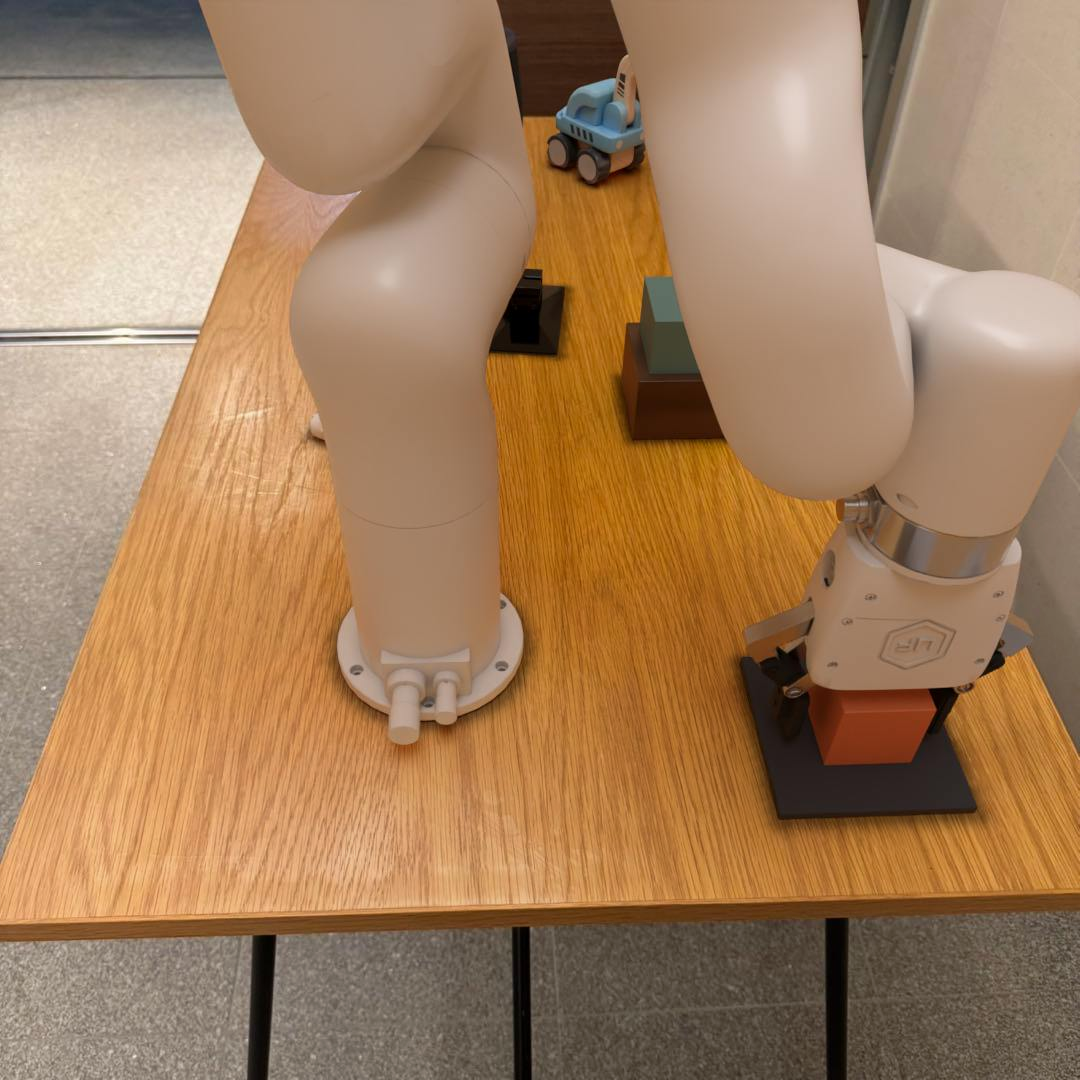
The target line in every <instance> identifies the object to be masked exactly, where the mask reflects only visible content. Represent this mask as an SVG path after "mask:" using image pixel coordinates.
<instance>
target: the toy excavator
mask: <svg viewBox="0 0 1080 1080" xmlns="http://www.w3.org/2000/svg"><path fill="white" fill-rule="evenodd" d="M636 93H637V84H636V79H635V75H634V71H633V68H632V65H631V62H630V59H629V56H628V54H626V55H625V56H624V57H623V58H622V59H621V61H619V65H618V69H617V74H616V78H615V77H614V78H608V79H603V80H600V81H597V82H594V83H589V84H588V85H584V86H580V87H578V88H577V89H576V90H574V91H573V92H572V94H571V95H570V97H569V99H568V101H567V104H566V106H564V107H563V108H562V109H560V110H559V111H558V112H556V116H555V128H556V129H557V130H558V131H559V132H558V133H555V134H552V135H551V136H550V137H549V138H548V139H547V142H546V145H548V147H547V151H546V154H547V158H548V160H549V162H550V163H551V164H552V166H554V167H560V168H562V169H565V168H568V167H571V166H573V165H575V164H576V165H575V167H576V171H577V174H578V175H579V178H580V179H582V178H583V179H584V183H585V184H588V185H594V184H596V183H599V182H600V181H603V180H605V179H607V178H608V177H609V175H610V174H611V173H614V172H616V171H618V170H621V169H626V170H631V169H633V168H635V167H638V166H640V165H642V163H643V162H644V161H645V157H646V154H645V151H646V145H645V140H644V134H643V127H642V119H641V110H640V101H638V100H637V99H636ZM585 180H586V181H585Z"/></svg>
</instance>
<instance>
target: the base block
mask: <svg viewBox="0 0 1080 1080" xmlns="http://www.w3.org/2000/svg"><path fill="white" fill-rule="evenodd" d="M639 325H640V321H638V322H626V324H625V335H624V345H623V354H622V355H623V356H622V366H621V367H622V368H621V377H620V379H621V384H622V390H623V396H624V401H625V406H626V411H627V417H628V422H629V428H630V433H631V438H632V440H681V439H682V440H686V439H687V440H688V439H690V440H691V439H693V440H694V439H726V438H725V437H724V435H723V432H722V430H721V427H720V425H719V423H718V420H717V417H716V414H715V412H714V409H713V406H712V403H711V401H710V398H709V395H708V392H707V390H706V387H705V384H704V381H703V379H702V376H701V374H649V370H648V365H647V361H646V356H645V352H644V347H643V343H642V338H641V334H640V329H639Z"/></svg>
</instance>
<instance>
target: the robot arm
mask: <svg viewBox="0 0 1080 1080" xmlns="http://www.w3.org/2000/svg"><path fill="white" fill-rule="evenodd" d="M197 1H198V3H199V6H200V9H201V11H202V14H203V17H204V19H205V23H206V25H207V29H208V31H209V34H210V36H211V39H212V42H213V44H214V48H215V50H216V53H217V56H218V58H219V61H220V64H221V67H222V69H223V73H224V75H225V77H226V80H227V83H228V86H229V88H230V91H231V94H232V96H233V99H234V102H235V105H236V107H237V110H238V111H239V114H240V117H241V118H242V121H243V123H244V125H245V127H246V129H247V131H248V133H249V135H250V137H251V138H252V141H253V142H254V144H255V146H256V147H257V149H258V150H259V152H260V153H261V155H262V156H263V158H264V160H266V162H267V163H268V164H269V165H270V166H271V167H272V168H273V169H274V171H276V172H277V173H278V174H279V175H281V176H282V177H283V178H284V179H286V180H288V182H290V183H291V184H293V185H294V186H296V187H298V188H300V189H303V191H306V192H310V193H313V194H317V195H323V196H346V195H351V194H355V193H358V192H359V193H358V194H356V196H355V197H354V198H352V200H350V202H349V203H348V204H347V205H346V207H345V208H344V209H343V210H342V211H341V212H340V214H339V215H338V216H337V217H336V218H335V219H334V220H333V222H332V223H331V224H330V225H329V226H328V228H327V229H326V230H325V231H324V232H323V234H322V235H321V237H320V238H319V239H318V241H317V242H316V243H315V245H314V246H313V247H312V249H311V250H310V252H309V254H308V256H307V257H306V259H305V261H304V263H303V264H302V266H301V269H300V271H299V273H298V276H297V278H296V280H295V283H294V287H293V290H292V294H291V299H290V303H289V315H288V316H289V317H288V327H289V333H290V339H291V340H290V341H291V345H292V349H293V351H294V356H295V358H296V360H297V363H298V366H299V369H300V370H301V371H300V372H301V373H302V375H303V378H304V380H305V382H306V385H307V387H308V389H309V392H310V394H311V397H312V400H313V403H314V405H315V406H314V407H315V408H316V413H318V415H319V418H320V422H321V426H322V430H323V434H324V439H325V440H324V443H325V448H326V454H327V459H328V463H329V470H330V476H331V482H332V487H333V492H334V497H335V502H336V503H335V504H336V509H337V514H338V515H337V516H338V521H339V527H340V532H341V539H342V545H343V552H344V557H345V563H346V569H347V575H348V580H349V581H348V583H349V587H350V594H351V601H352V606H351V607H350V609H349V610H348V612H347V614H346V615H345V617H344V618H343V620H342V623H341V625H340V627H339V631H338V634H337V639H336V651H337V660H338V664H339V667H340V672H341V675H342V677H343V679H344V680H345V683H346V684H347V685H348V687H349V688H350V689H351V691H352V692H353V693H354V694H355V695H356V696H357V697H358V699H360V700H361V701H363V702H364V703H366V705H369V706H370V707H371V708H373V709H375V710H377V711H379V712H382V713H384V714H386V715H388V723H387V738H388V740H389V741H390V742H392V743H393V744H396V745H399V746H401V745H403V746H407V745H411V744H414V743H416V742H417V741H419V738H420V736H421V721H435V722H436V723H437V724H439V725H443V726H448V725H453V724H455V722H457V719H458V717H459V716H463V715H466V714H468V713H470V712H473V711H475V710H477V709H479V708H481V707H482V706H485V705H486V704H488V703H489V702H491V701H492V700H494V699H496V697H497V696H498V695H500V694H501V693H502V692H503V691H504V690H505V689H506V688H507V687H508V685H510V682H512V680H513V679H514V678H515V677H516V674H517V672H518V669H519V667H520V665H521V661H522V657H523V652H524V631H523V630H524V629H523V624H522V621H521V618H520V616H519V613H518V611H517V609H516V608H515V606H514V605H513V604H512V602H511V601H510V599H509V598H508V597H507V596H506V595H505V594H503V593H502V591H501V551H500V550H501V549H500V547H501V546H500V540H501V539H500V537H501V536H500V471H499V450H498V449H499V447H498V445H499V444H498V430H497V421H496V416H495V410H494V407H493V403H492V400H491V397H490V393H489V392H490V391H489V388H488V383H487V381H488V380H487V367H488V366H487V365H488V357H489V353H490V352H489V348H490V345H491V341H492V338H493V335H494V332H495V330H496V328H497V326H498V324H499V322H500V320H501V318H502V316H503V314H504V312H505V310H506V307H507V305H508V302H509V300H510V298H511V296H512V294H513V292H514V290H515V288H516V286H517V284H518V282H519V280H520V278H521V276H522V274H523V272H524V270H525V269H526V267H527V266H528V263H529V261H530V258H531V255H532V252H533V248H534V244H535V241H536V235H537V223H538V221H537V219H538V218H537V216H538V215H537V202H536V201H537V200H536V194H535V187H534V180H533V175H532V170H531V169H532V168H531V164H530V159H529V154H528V153H529V152H528V148H527V144H526V138H525V133H524V126H523V127H522V122H521V116H520V111H519V106H518V101H517V95H516V90H515V85H514V80H513V74H512V69H511V64H510V59H509V53H508V48H507V43H506V38H505V33H504V28H503V26H504V24H503V19H502V15H501V11H500V8H499V3H498V1H497V0H197ZM858 1H859V0H610V3H611V7H612V9H613V12H614V15H615V18H616V21H617V23H618V27H619V31H620V34H621V36H622V40H623V43H624V46H625V49H626V52H627V55H628V56H629V59H630V62H631V65H632V68H633V71H634V75H635V79H636V90H637V94H638V100H639V101H638V102H639V104H640V110H641V121H642V127H643V134H644V140H645V142H644V143H645V146H646V148H645V149H646V150H645V151H646V156H647V160H648V163H649V168H650V172H651V176H652V181H653V186H654V192H655V196H656V200H657V201H656V202H657V206H658V209H659V210H658V211H659V216H660V221H661V226H662V232H663V236H664V241H665V247H666V252H667V257H668V263H669V268H670V272H671V277H672V278H673V282H674V286H675V290H676V294H677V299H678V303H679V307H680V310H681V314H682V318H683V321H684V325H685V329H686V332H687V335H688V338H689V341H690V345H691V348H692V351H693V354H694V356H695V359H696V362H697V365H698V368H699V370H700V373H701V376H702V379H703V381H704V384H705V387H706V390H707V392H708V395H709V398H710V401H711V403H712V406H713V409H714V412H715V414H716V417H717V420H718V423H719V425H720V427H721V430H722V432H723V435H724V437H725V438H724V439H725V441H726V443H727V445H728V446H729V448H730V450H731V451H732V453H733V454H734V455H735V457H736V458H737V460H738V461H739V462H740V464H741V465H742V466H743V467H744V468H745V469H746V470H747V472H749V474H751V475H752V476H753V477H754V478H755V479H756V480H757V481H759V482H760V483H762V484H763V485H765V487H767V488H769V489H771V490H773V491H775V492H777V493H778V494H779V493H780V494H782V495H783V496H787V497H790V498H793V499H797V500H803V501H811V502H827V501H835V514H836V518H837V520H838V522H839V523H838V525H837V526H836V527H835V529H834V530H833V532H832V534H831V536H830V538H829V540H828V541H827V543H826V544H825V546H824V548H823V550H822V552H821V554H820V556H819V558H818V560H817V562H816V564H815V566H814V568H813V571H812V574H811V575H810V578H809V581H808V582H807V585H806V588H805V590H804V593H803V596H802V599H801V601H800V604H799V605H796V606H794V607H791V608H790V609H787V610H785V611H782V612H780V613H777V614H775V615H773V616H770V617H767V618H765V619H763V620H760V621H757V622H755V623H753V624H751V625H748V626H746V627H744V628H743V629H742V630H741V635H742V639H743V643H744V647H745V650H746V652H747V653H748V654H749V657H752V658H753V660H754V661H755V662H756V664H758V665H759V666H760V668H761V670H762V673H763V674H764V675H765V676H767V677H768V678H769V679H771V680H772V681H773V682H775V687H774V690H773V693H772V697H771V707H772V712H773V715H774V718H775V719H781V720H782V724H783V728H784V731H785V735H786V738H796V737H797V736H799V734H800V731H801V729H802V726H803V723H804V720H805V717H806V714H807V711H808V708H809V705H810V696H809V693H808V691H809V690H810V689H812V688H813V687H815V686H816V685H819V686H822V687H825V688H829V689H835V690H891V689H923V688H928V690H929V692H930V695H931V697H932V700H933V702H934V704H935V707H936V712H935V714H934V716H933V718H932V720H931V722H930V725H929V727H928V729H927V731H926V732H927V733H928V734H938V733H939V731H940V729H941V727H942V726H943V724H944V725H945V722H946V719H948V716H949V714H951V712H952V710H953V708H954V706H955V704H956V702H957V700H958V699H959V697H960V695H964V694H965V695H966V694H968V693H971V692H972V691H973V690H974V689H975V688H976V687H977V686H976V683H975V682H976V681H977V680H978V679H981V678H982V677H984V676H987V675H989V674H991V673H993V672H995V671H997V670H999V669H1000V668H1002V667H1004V666H1005V664H1006V658H1008V657H1009V658H1012V657H1013V656H1015V655H1016V654H1018V653H1019V652H1021V651H1023V650H1024V649H1025V648H1027V647H1028V646H1030V645H1031V644H1033V643H1034V642H1035V640H1036V637H1035V635H1034V633H1033V631H1032V630H1031V627H1030V625H1029V624H1028V622H1027V621H1026V620H1025V619H1024V618H1022V617H1020V616H1018V615H1016V614H1015V613H1013V612H1011V609H1012V606H1013V602H1014V598H1015V594H1016V590H1017V585H1018V581H1019V576H1020V567H1021V562H1022V555H1023V551H1022V547H1021V544H1020V542H1019V540H1018V539H1017V537H1016V536H1017V534H1018V533H1019V530H1020V529H1021V527H1022V525H1023V522H1024V520H1025V518H1026V517H1027V513H1028V511H1029V510H1030V508H1031V506H1032V505H1033V504H1032V503H1033V502H1034V499H1035V498H1036V495H1037V494H1038V492H1039V490H1040V488H1041V485H1042V483H1043V481H1044V479H1045V478H1046V475H1047V473H1048V471H1049V469H1050V467H1051V465H1052V463H1053V461H1054V459H1055V457H1056V455H1057V453H1058V451H1059V449H1060V447H1061V445H1062V442H1063V440H1064V438H1065V437H1066V434H1067V433H1068V430H1069V428H1070V427H1071V424H1072V422H1073V421H1074V418H1075V416H1076V414H1077V412H1078V410H1079V408H1080V294H1079V293H1077V292H1076V291H1075V290H1073V289H1071V288H1069V287H1067V286H1065V285H1063V284H1061V283H1059V282H1056V281H1054V280H1051V279H1048V278H1047V277H1046V278H1045V277H1043V276H1038V275H1035V274H1031V273H1026V272H1022V271H1013V270H1002V269H992V270H991V269H990V270H981V271H968V270H965V269H961V268H957V267H953V266H949V265H945V264H943V263H939V262H936V261H934V260H930V259H927V258H924V257H921V256H917V255H914V254H912V253H909V252H905V251H903V250H899V249H897V248H895V247H891V246H888V245H886V244H882V243H879V242H876V236H875V230H874V223H873V216H872V209H871V208H872V207H871V202H870V195H869V187H868V186H869V185H868V176H867V166H866V154H865V143H864V141H865V140H864V121H863V120H864V119H863V43H862V32H861V21H860V12H859V11H860V10H859V3H858ZM785 644H787V645H786V646H784V648H781V647H780V646H783V645H785ZM805 657H806V665H807V667H806V668H804V669H802V666H801V663H799V662H800V661H801V660H802V659H804V658H805Z"/></svg>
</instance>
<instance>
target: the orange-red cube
mask: <svg viewBox="0 0 1080 1080" xmlns="http://www.w3.org/2000/svg"><path fill="white" fill-rule="evenodd" d="M808 693H809V696H810V705H809V708H808V713H809V716H810V720H811V723H812V726H813V730H814V733H815V736H816V740H817V743H818V747H819V750H820V753H821V757H822V760H823V763H824V765H854V764H885V763H910V762H911V761H912V759H913V757H914V755H915V753H916V751H917V749H918V747H919V745H920V743H921V741H922V739H923V737H924V735H925V733H926V731H927V729H928V727H929V725H930V722H931V720H932V718H933V716H934V714H935V712H936V707H935V704H934V702H933V700H932V697H931V695H930V692H929V690H928V688H923V689H891V690H835V689H829V688H825V687H822V686H819V685H816V686H815V687H813V688H812V689H810V690H809V691H808Z"/></svg>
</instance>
